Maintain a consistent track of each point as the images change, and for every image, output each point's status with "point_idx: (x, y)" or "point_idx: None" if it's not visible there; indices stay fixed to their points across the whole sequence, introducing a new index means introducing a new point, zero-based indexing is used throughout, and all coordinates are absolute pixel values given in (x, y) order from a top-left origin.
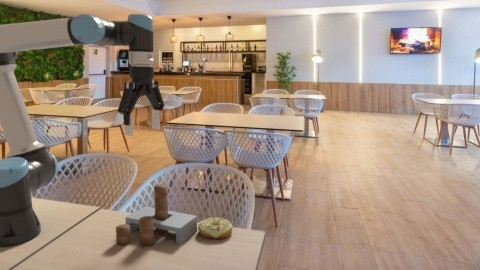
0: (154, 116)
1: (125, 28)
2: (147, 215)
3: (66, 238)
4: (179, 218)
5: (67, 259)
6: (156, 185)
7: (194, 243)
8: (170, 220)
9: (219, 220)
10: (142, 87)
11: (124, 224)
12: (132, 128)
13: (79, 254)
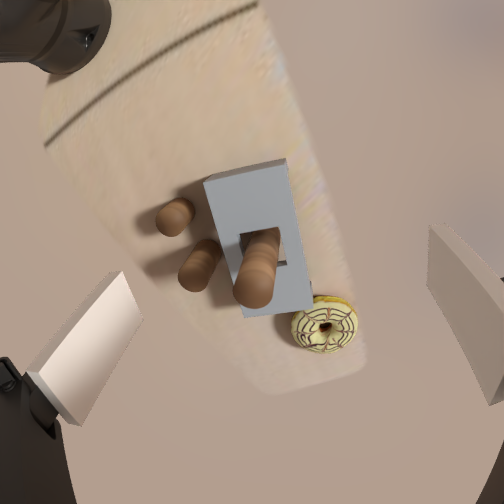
0: (476, 314)
1: None
2: (244, 218)
3: (119, 106)
4: (280, 288)
5: (91, 187)
6: (249, 278)
7: None
8: None
9: (340, 331)
10: None
11: (178, 214)
12: (118, 350)
13: (109, 186)
